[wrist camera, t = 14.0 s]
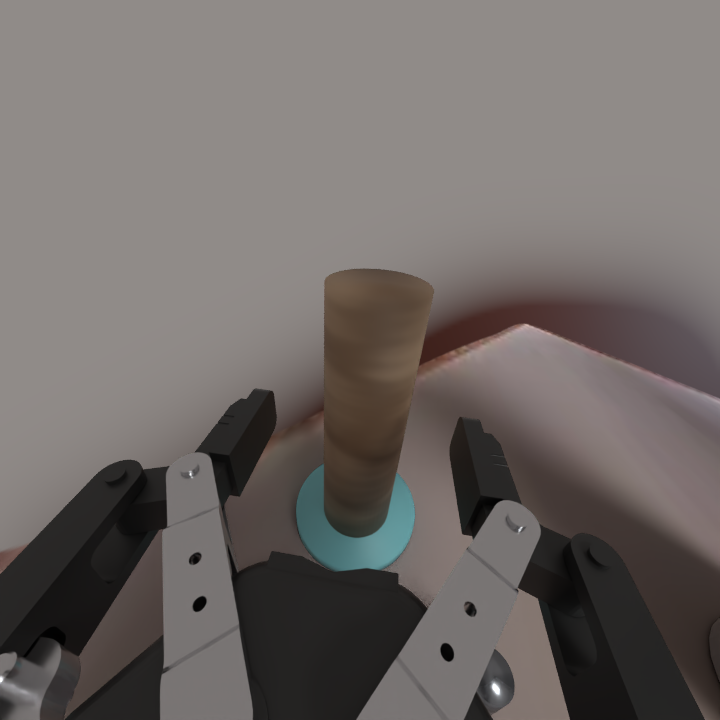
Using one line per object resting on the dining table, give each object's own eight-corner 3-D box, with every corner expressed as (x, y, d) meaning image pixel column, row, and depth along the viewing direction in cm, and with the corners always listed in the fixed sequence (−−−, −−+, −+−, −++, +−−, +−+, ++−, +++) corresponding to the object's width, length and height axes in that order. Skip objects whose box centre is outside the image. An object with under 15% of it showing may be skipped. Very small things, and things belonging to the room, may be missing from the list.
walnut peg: (378, 472, 23) (410, 268, 15) (397, 530, 20) (454, 303, 11) (320, 481, 22) (318, 268, 14) (328, 544, 19) (333, 305, 10)
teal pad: (392, 455, 26) (393, 449, 25) (432, 559, 19) (435, 553, 19) (294, 469, 24) (293, 463, 24) (300, 590, 17) (299, 584, 17)
